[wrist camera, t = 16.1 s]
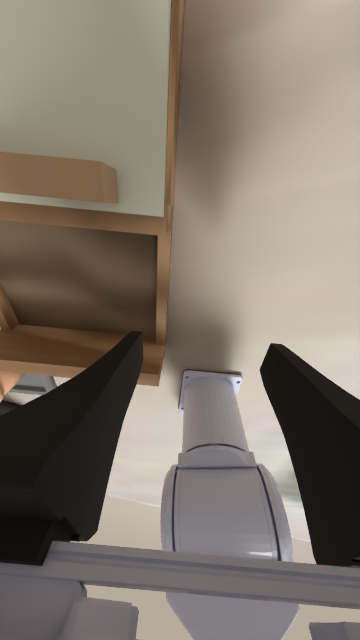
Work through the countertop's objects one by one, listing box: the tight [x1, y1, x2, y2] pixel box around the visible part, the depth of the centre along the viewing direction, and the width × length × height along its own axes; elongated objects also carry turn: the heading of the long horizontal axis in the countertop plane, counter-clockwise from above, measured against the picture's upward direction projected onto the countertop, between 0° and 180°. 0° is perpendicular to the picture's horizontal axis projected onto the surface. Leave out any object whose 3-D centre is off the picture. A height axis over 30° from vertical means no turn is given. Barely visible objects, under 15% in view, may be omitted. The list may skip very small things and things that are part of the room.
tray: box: [9, 374, 57, 395], centre depth 26 cm, size 10×10×1 cm
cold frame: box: [0, 0, 185, 386], centre depth 13 cm, size 29×19×6 cm, turn 175°
